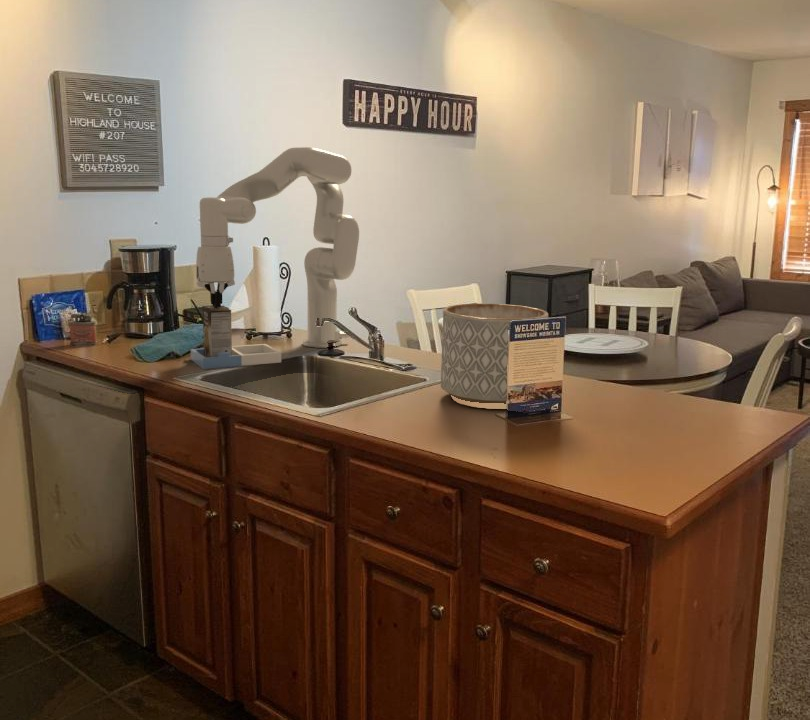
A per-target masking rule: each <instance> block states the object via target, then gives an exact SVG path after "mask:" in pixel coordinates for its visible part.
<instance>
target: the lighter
mask: <svg viewBox="0 0 810 720" xmlns="http://www.w3.org/2000/svg"><path fill="white" fill-rule="evenodd" d="M70 318H71V319H74V320H70V321H68V325H69V336H70V337H69V339H70V341H69V345H70V346H71V345H75V347H95V346H97V345H98V343H97V336H96V320H92V314H86V313H85V312H83V313H81V314H79V313H70ZM94 345H95V346H94Z"/></svg>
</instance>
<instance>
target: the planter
mask: <svg viewBox="0 0 810 720" xmlns="http://www.w3.org/2000/svg"><path fill="white" fill-rule="evenodd" d="M442 312H443V313H442V314H443V315H442V335H441V336H442V337H441V339H442V340H441V341H442V343H441V344H442V345H441V366H440V368H441V369H440V388H441V389H442V390H443V391H444V392H446V393H448V394H450V396H451V395H452V396H454V397H456V398H458V399H461V400H465V401H470V402H479V403H504V404H506V401H507V358H508V330H509V322H510V321H512V320H522V319H535V318H548V319H549V313H548V311H546V310H543V309H541V308H537V307H531V306H527V305H525V306H524V305H516V304H506V303H463V304H462V303H461V304H460V303H459V304H451V305H448V306H446V307H444V308H443V311H442Z"/></svg>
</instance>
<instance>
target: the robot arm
mask: <svg viewBox="0 0 810 720" xmlns="http://www.w3.org/2000/svg"><path fill="white" fill-rule="evenodd" d="M351 175H352V166H351V163H350V161H349V160H348V159H347V158H346V157H345V156H343V155H341V154H336V153H333V152H329V151H327V150H322V149H319V148H316V147H307V146H306V147H303V146H302V147H289V148H287V149H286V150H285V151H283V152H281V154H279V155H278V156H277V157H275V158H274V159H273V160H272V161H271V162H269V163H268V164H266V165H265V166H264V167H263V168H262V169H260V170H259V171H258V172H254V173H253V174H251V175H249V176H247V177H245V178H243V179H241V180H240V181H239V180H238V181H237V182H234V184H232V185H230V186H229V187H228V188H226V189H225V190H224V191H222V192H221V193H220V194H219V195H218V196H217V197H214V196H213V197H210V196H209V197H202V198H201V199H200V201H199V221H200V224H199V226H200V227H199V229H200V246H198V247H197V249H196V250H197V251H196V262H195V263H196V264H195V265H196V266H195V270H196V271H195V278H196V286H197V287H199V288H204V289H206V290H207V291H208V292H209V293H210V294H209V295H210V297H209V298H210V305H211V306H213V307H221V306H222V305H221V304H223V293H224V292H225V290H226V289H227V288H228V287H231V286H232V287H233V286H234V285H235V284H236V282H235V265H234V263H235V262H234V256H233V252H232V248H231V246H229V245H230V244H232V243H234V238H233V237H230V236H229V223H231V224H238V225H239V224H241V225H242V224H244V225H245V224H248V223H250V222H251V221H253V220H254V218H255V216H256V213H257V209H256V205H255V203H254V202H259V201H261V200H267V199H271V198H273V197H276V196H278V195H279V194H281V193H282V192H283V191H285V189H287V188H288V187H289V186H290V185H291V184H293V182H295V181H297V179H299V178H300V177H306V178H307V179H308V181H309V182H310V183H311V185H312V187H313V189H314V190H315V194H316V206H315V213H314V214H315V215H314V222H313V229H312V230H313V237H314V239H315V240H316V241H317V242H318V243H319V242H320V243H323V244H327V245H328V244H329V245H332V246H333V247H332V248H331V247H321V246H319V247H314V248H312V249H310V250H308V251H307V252H306V255H305V257H304V260H303V261H304V266H303V267H304V270H305V271H304V272H305V276H306V283H307V285H306V286H307V338H306V339H304V340H302V345H303V346H304V347H308V348H309V347H310V348H317V349H320V348H321V349H324V348H325V349H327V347H328V343H327V341H328V340H335V341H337V342H336V343H335V347H334V348H336V346H337V347H340V346H341V345H342V339H349V338H351V336H350V337H349V336H348V335H347V334H346V333H344V332H345V331H340V330H338V326H336V325H334V324H333V323H331V322H325V323H324V324H323V326H321V327H317V326H316V325H315V320H316V319H317V318H331V319H334V320H336V321H338V320H337V319H338V290H337V284H336V281H335V280H339V281H342V280H344V281H345V280H347V279H349V278H350V277H351V276H352V275H353V273H354V271H355V266H356V262H357V254H358V247H359V241H360V229H359V224H358V222H357V221H356V219H355V218H354V217H353V216H351V215H348V214H343V213H344V212H343V211H344V195H343V191H342V189H341V187H340V185H342V184H344V183H346V182H348V181H349V179H350V178H351ZM215 283H217V284H216V285H217V287H215Z"/></svg>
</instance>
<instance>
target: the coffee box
mask: <svg viewBox="0 0 810 720" xmlns="http://www.w3.org/2000/svg"><path fill="white" fill-rule="evenodd" d="M202 326H203V329H202V331H203V348H204V357H205V358H206V357H218V356H217V353H221V352H228V353H229V356H232V346H233V345H232V343H233V340H232V337H233V335H232V333H233V332H232V309H230V308H228V307H226V306H225V305H221V307H213V305H202Z"/></svg>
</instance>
